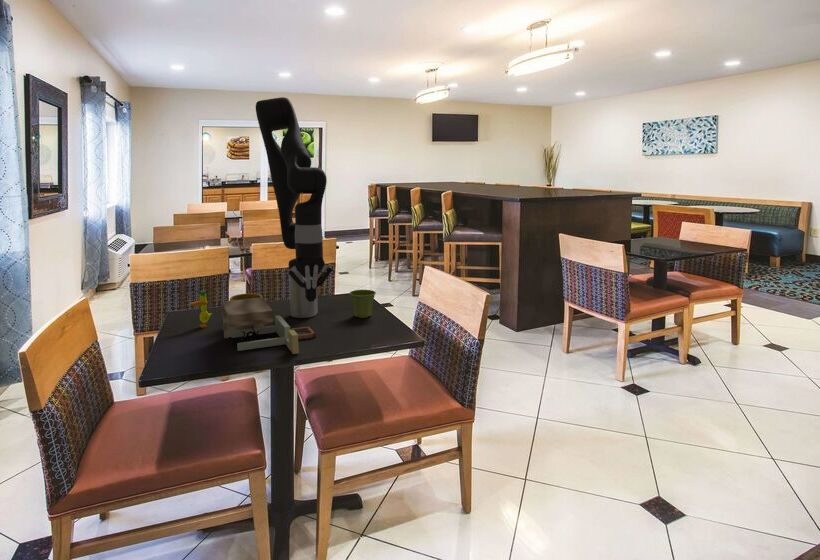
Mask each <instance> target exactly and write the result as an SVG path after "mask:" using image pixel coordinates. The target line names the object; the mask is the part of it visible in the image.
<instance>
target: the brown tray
mask: <svg viewBox="0 0 820 560" xmlns="http://www.w3.org/2000/svg"><path fill="white" fill-rule="evenodd" d="M290 330H294V331H295V332H296V333H297V334H298V341H301V340H307V339H315V338H316V333H315V331H314V330H313V329H312V328H311V327H310V326H301V327H295V328H290Z"/></svg>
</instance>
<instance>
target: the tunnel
mask: <svg viewBox="0 0 820 560" xmlns="http://www.w3.org/2000/svg"><path fill="white" fill-rule="evenodd" d="M221 311H222V323H223V324H222V325H223V327H222V328H223V338H224V339H230V338H229V337H231V338H232V335H231V331H234V330H242V329H250V328H252V326H253V328H258V327H265V324H268V323H274V311H273V309H272V308H271V307H270V306H269V304H268V303H267V302H266V301H265V300H264V299H263V297H262V298H252V299H242V300H232V301H230V300H224V301H221Z"/></svg>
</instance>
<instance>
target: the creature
mask: <svg viewBox="0 0 820 560" xmlns="http://www.w3.org/2000/svg"><path fill="white" fill-rule="evenodd" d="M252 329H253V326H252ZM240 331H241V330H240ZM253 331H254V332H252V331H250V332H248V333H246V334H247V335H246V336H245V332H243V333H244V335H243V337H237V340H235V341H234V342H233V343H232V346H235V344H237V343H240V340H243V342H250V341H251V339H252V341H257V339H258V338H259V334H258V332H259V331H257V334H256V332H255V330H254V329H253ZM241 332H242V331H241ZM250 333H252V335H251V336H249V334H250Z"/></svg>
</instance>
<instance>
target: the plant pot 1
mask: <svg viewBox="0 0 820 560" xmlns="http://www.w3.org/2000/svg"><path fill="white" fill-rule="evenodd" d="M252 298H262V299H263V295H262V294H259V293H249V292H248V293H239V294H235V295H232V296H231V297H230V298H229V301H232V300H242V299H252Z"/></svg>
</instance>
